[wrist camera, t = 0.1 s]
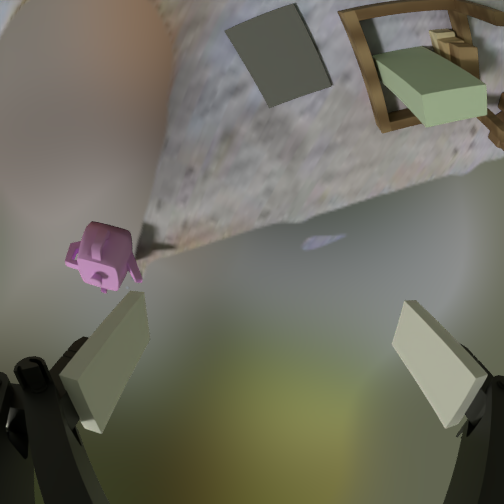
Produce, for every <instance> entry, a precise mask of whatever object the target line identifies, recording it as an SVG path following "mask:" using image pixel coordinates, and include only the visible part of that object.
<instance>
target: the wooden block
mask: <svg viewBox="0 0 504 504" xmlns="http://www.w3.org/2000/svg"><path fill="white" fill-rule="evenodd" d="M498 108H499V109H501V110H502V111H501V112H500V113H498V114H497V115H496V116H497V117H498V118H499V119H500V120H501V121H502V122H504V93H502V94H501V98H500V101H499V105H498ZM488 138H489V139H490V140H491V141H492V142H493V143H494V144H495V146H496V147H498V148H502V150H503V151H504V142H503V143H501V141H500V140H499V139H498V138H497V137H496V136H495V135H494V134H493V133H492V132H491V131H490V133H489V136H488Z"/></svg>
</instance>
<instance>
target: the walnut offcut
mask: <svg viewBox="0 0 504 504" xmlns="http://www.w3.org/2000/svg"><path fill="white" fill-rule="evenodd" d="M448 43H449V49H450V57H451V62H452V63H454V64H455V65H457V66H459V67H460V68H462V69H464V70H465V71H467V72H468V73H470V74H471V75H473V76H474V77H476V78H477V79H479V62H478V50H477V47H475V46H473V45H471V44H469V43H463V42H448Z"/></svg>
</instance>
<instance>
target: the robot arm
mask: <svg viewBox="0 0 504 504" xmlns="http://www.w3.org/2000/svg"><path fill="white" fill-rule="evenodd" d="M149 341H150V333H149V327H148V319H147V312H146V305H145V296H144V292H138V291H130V292H129V293H128V294H127V295H126V296H125V297H124V298H123V299H122V300H121V302H120V303H119V304H118V305H117V306H116V307H115V308H114V309H113V310H112V312H111V313H110V314H109V315H108V316H107V317H106V318H105V320H104V321H103V322H102V323H101V324H100V326H99V327H98V328H97V329H96V330H95V331H94V333H93V334H92V335H91V336H90V337H89V338H88V337H82V338H80V339H78V340H77V341H75V342H74V343H73V344H72V345H71V346H70V347H69V348H68V351H66V352H65V353H64V354H63V357H61V358H60V359H59V360H58V361H57V363H56V364H55V365H54V366H53V367H52V369H51V370H50V371H49V370H48V368H47V365H46V363H45V361H44V360H43V359H42V358H40V357H36V356H33V357H27V358H24V359H22V360H21V361H19V362H18V363H17V365H16V366H15V368H14V373H15V375H16V378H17V380H18V382H19V384H12V383H10V381H9V379H8V377H7V375H6V374H4V373H3V372H0V504H35V498H34V468H35V472H36V476H37V480H38V484H39V487H40V490H41V494H42V497H43V500H44V503H45V504H110V503H109V501H108V499H107V498H106V496H105V494H104V492H103V490H102V488H101V485H100V483H99V481H98V479H97V477H96V475H95V472H94V470H93V468H92V465H91V463H90V461H89V458H88V456H87V453H86V450H85V448H84V445H83V442H82V440H81V437H80V434H79V431H78V429H77V427H76V424H77V422H78V421H79V419H80V421H81V423H82V424H83V426H84V428H86V429H88V430H91V431H94V432H98V433H101V434H102V432H103V430H104V428H105V426H106V424H107V422H108V420H109V418H110V416H111V414H112V412H113V410H114V408H115V406H116V404H117V402H118V400H119V398H120V396H121V394H122V392H123V390H124V388H125V386H126V384H127V382H128V380H129V378H130V376H131V374H132V373H133V371H134V369H135V366H136V365H137V363H138V361H139V359H140V357H141V355H142V353H143V352H144V350H145V348H146V346H147V344H148V343H149ZM392 346H393V347H394V349H395V350H396V352H397V353H398V355H399V356H400V358H401V359H402V361H403V362H404V363H405V365H406V367H407V368H408V370H409V371H410V373H411V374H412V376H413V377H414V379H415V380H416V382H417V383H418V385H419V387H420V388H421V390H422V391H423V393H424V394H425V396H426V398H427V399H428V401H429V402H430V404H431V406H432V407H433V409H434V411H435V412H436V414H437V416H438V417H439V419H440V421H441V422H442V424H443V426H444V427H445V428H449V427H452V426H454V425H457V424H458V423H459V422H460V420H461V419H462V417H463V416H464V414H465V415H466V417H467V418H468V419H467V421H466V422H465V424H464V425H463V426H462V428H461V429H460V431H459V432H458V433H457V435H456V437H458V436H459V435H460V434H461V433H462V432H463V434H462V437H461V438H462V439H461V444H460V448H459V452H458V457H457V461H456V464H455V468H454V472H453V475H452V479H451V482H450V485H449V488H448V491H447V494H446V497H445V500H444V503H443V504H504V376H500V375H498V376H495V377H493V375H492V374H491V373H490V372H489V371H488V370H487V369H486V368H485V367H484V365H483V364H482V363H481V362H480V361H478V360H477V358H476V357H475V356H473V354H472V353H471V352H470V351H469V350H468V348H466V347H465V346H463V345H462V344H460V343H459V342H458V341H457V340H456V339H455V338H454V337H453V336H452V335H451V334H450V333H449V332H448V331H447V330H446V329H445V328H444V327H443V326H442V325H441V324H440V323H439V322H438V321H437V320H436V319H435V318H434V317H433V316H432V315H431V314H430V313H429V312H428V311H427V310H425V309H424V308H423V307H422V306H421V305H420V304H419V303H418V302H417V301H416V300H411V301H410V300H409V301H404V304H403V308H402V311H401V315H400V318H399V322H398V325H397V329H396V332H395V335H394V338H393V341H392Z"/></svg>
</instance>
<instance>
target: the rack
mask: <svg viewBox="0 0 504 504" xmlns="http://www.w3.org/2000/svg"><path fill="white" fill-rule="evenodd" d="M430 10H448V14H449V17H450V21H451V25H452V30H453V31H454V33H455V37H457V38H459V39H461V40H463V41H464V43H469V44H471V45H473V43H472V38H471V33H470V28H469V23H468V19H467V15H469V16H472V17H474V18H477V19H480V20H483V21H486V22H488V23H491V24H493V25H496V26H504V12H502V11H499V10H496V9H493V8H490V7H487V6H484V5H480V4H477V3H473V2H470V1H466V0H397V1H389V2H382V3H376V4H370V5H365V6H360V7H355V8H350V9H345V10H341V11H337V12H338V14H339V16H340V18H341V21H342V23H343V25H344V28H345V30H346V32H347V35H348V37H349V40H350V43H351V45H352V48H353V50H354V53H355V56H356V59H357V61H358V64H359V67H360V70H361V73H362V76H363V79H364V82H365V85H366V89H367V92H368V95H369V99H370V102H371V106H372V109H373V113H374V117H375V121H376V124H377V126H378V128H379V129H380V130H381V132H382V133H386V132H390V131H394V130H398V129H402V128H405V127H410V126H414V125H418V124H422V122H421V121H420V120H419V119H418V118H417V117H416V116H415V115H414V114H413V113H412V112H411V110H410V109H409V108H407V109H403V110H399V111H394V112H390V113H387V108H386V104H385V100H384V96H383V93H382V89H381V85H380V82H379V78H378V75H377V71H376V68H375V65H374V62H373V59H372V56H371V53H370V50H369V47H368V44H367V41H366V38H365V36H364V33H363V30H362V28H361V25H360V23H359V21H360V20H365V19H370V18H375V17H381V16H387V15H393V14H400V13H408V12H418V11H430ZM477 118H478V119H479V120H480V121H481V122H482V123H483V124H484V125H485V126H486V127H487V128H488V129H489V130H490V131H491V132H492V133H493V134H494V135H495V136H496V137H497V138H498V139H499V140H500V141H501V143H503V142H504V122H502V121H501V120H500V119H499V118H498V117H497V116H496V115H495V114H494V113H493V112H491V111H490V110H489V109H488V108H487V115H485V116H479V117H477Z"/></svg>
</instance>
